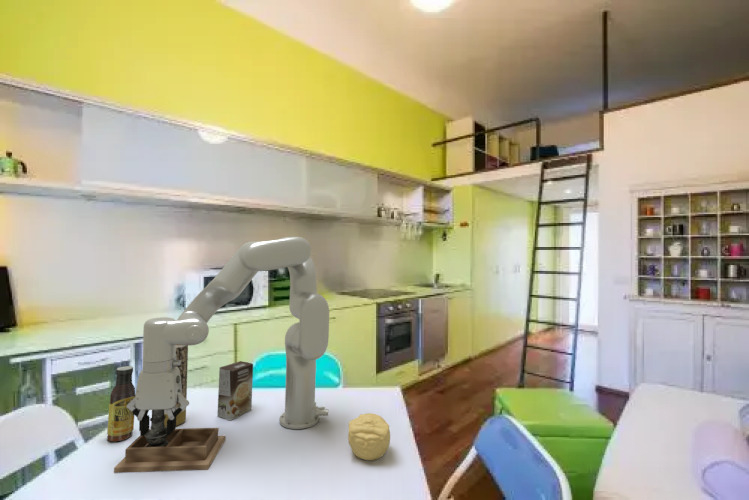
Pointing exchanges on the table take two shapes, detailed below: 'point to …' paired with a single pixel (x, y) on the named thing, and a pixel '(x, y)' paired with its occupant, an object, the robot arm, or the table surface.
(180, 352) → the paper tube
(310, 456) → the table surface
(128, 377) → the sauce bottle
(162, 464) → the condiment rack
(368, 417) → the sculpture
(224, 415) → the coffee box
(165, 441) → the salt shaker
